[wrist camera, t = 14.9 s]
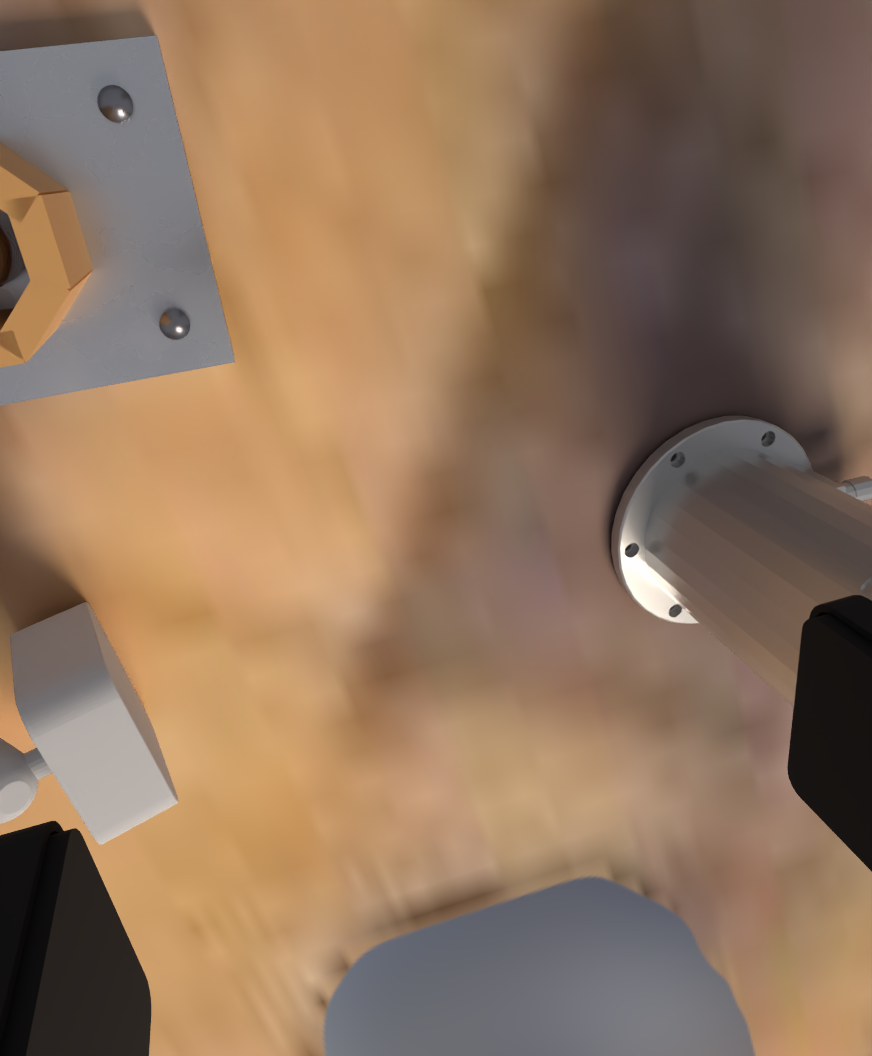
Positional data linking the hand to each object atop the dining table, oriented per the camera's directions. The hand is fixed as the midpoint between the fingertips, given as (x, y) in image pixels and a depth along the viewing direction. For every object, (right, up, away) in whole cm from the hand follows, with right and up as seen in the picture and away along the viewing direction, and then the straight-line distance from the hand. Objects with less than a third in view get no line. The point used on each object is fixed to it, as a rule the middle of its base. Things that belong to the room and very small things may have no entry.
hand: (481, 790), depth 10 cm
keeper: (-18, +14, +20) cm, 31 cm away
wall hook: (-20, -4, +28) cm, 35 cm away
